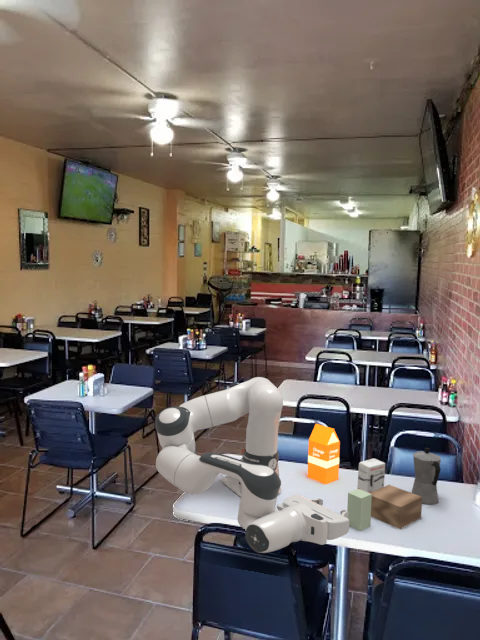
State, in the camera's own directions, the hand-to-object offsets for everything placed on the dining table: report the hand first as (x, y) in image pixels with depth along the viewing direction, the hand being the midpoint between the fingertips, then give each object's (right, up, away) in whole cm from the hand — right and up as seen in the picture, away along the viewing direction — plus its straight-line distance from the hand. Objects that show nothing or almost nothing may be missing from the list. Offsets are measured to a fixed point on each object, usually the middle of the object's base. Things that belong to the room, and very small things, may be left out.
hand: (333, 507), depth 145 cm
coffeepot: (+37, -8, +28) cm, 47 cm away
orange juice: (+4, -6, +45) cm, 45 cm away
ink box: (+18, -7, +31) cm, 37 cm away
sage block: (+9, -9, +9) cm, 16 cm away
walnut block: (+22, -9, +16) cm, 28 cm away
